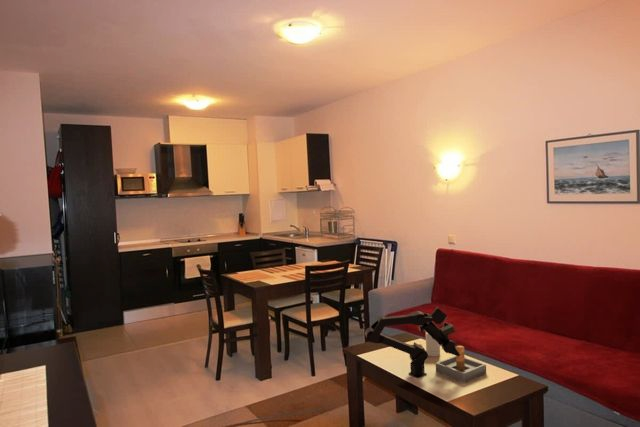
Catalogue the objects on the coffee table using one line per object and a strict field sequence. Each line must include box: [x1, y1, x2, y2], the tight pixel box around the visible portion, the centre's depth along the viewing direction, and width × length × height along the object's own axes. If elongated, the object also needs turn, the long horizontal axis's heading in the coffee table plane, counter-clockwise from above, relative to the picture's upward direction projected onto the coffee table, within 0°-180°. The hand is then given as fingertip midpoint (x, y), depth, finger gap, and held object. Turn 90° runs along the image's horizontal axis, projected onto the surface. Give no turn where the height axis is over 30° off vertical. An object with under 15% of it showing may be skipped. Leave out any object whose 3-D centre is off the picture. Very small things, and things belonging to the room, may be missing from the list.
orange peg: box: [455, 345, 466, 371], centre depth 216 cm, size 4×4×13 cm
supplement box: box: [425, 331, 441, 357], centre depth 243 cm, size 7×7×13 cm
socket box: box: [435, 355, 487, 384], centre depth 216 cm, size 17×17×4 cm
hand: (456, 352), depth 216 cm, fingers open, 9 cm apart
